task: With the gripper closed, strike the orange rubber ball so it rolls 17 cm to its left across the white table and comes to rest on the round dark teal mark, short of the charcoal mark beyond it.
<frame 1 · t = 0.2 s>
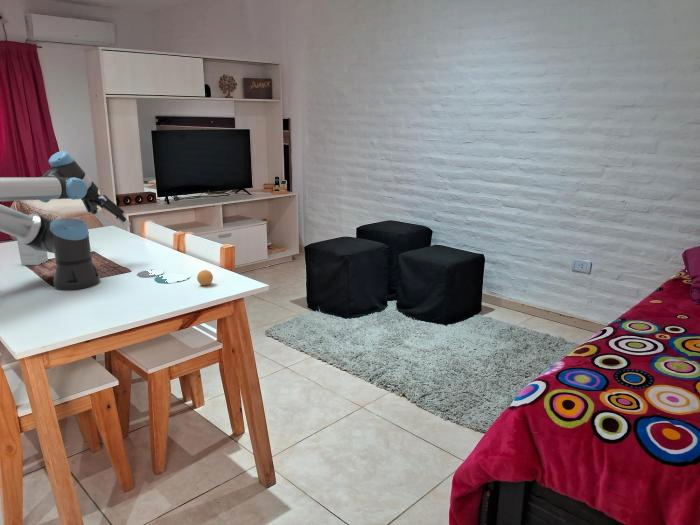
hand: (117, 224, 222), 15 cm above the table, tool tilted 35°, fingers open, 13 cm apart
supplement box: (35, 263, 224), on the table
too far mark: (150, 273, 208), on the table
ball: (205, 277, 193), on the table
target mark: (172, 278, 202), on the table
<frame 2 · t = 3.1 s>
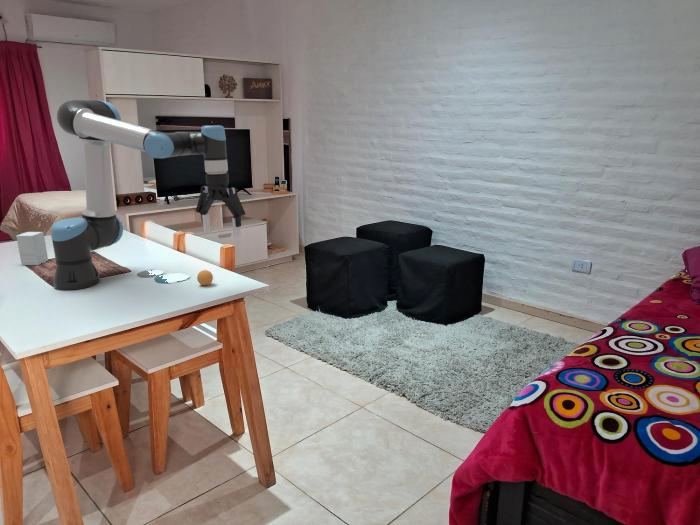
hand: (222, 234, 186), 19 cm above the table, tool pointing down, fingers open, 13 cm apart
nothing on the table moved.
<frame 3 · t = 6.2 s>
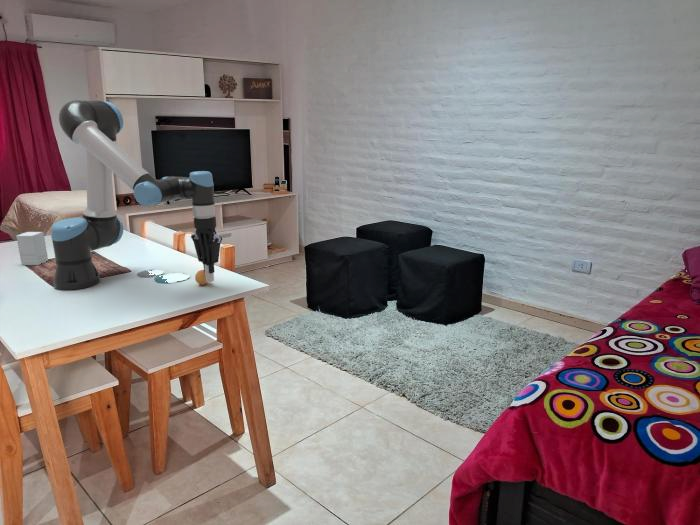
hand: (210, 281, 192), 2 cm above the table, tool pointing down, fingers closed
ball: (203, 277, 194), on the table, touching gripper
everything else where it was.
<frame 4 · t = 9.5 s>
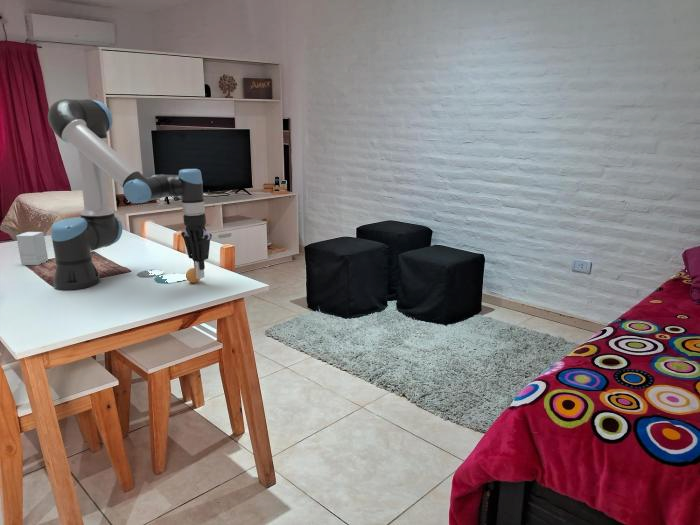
hand: (200, 277, 195), 2 cm above the table, tool pointing down, fingers closed
ball: (193, 275, 196), on the table, touching gripper
everything else where it was.
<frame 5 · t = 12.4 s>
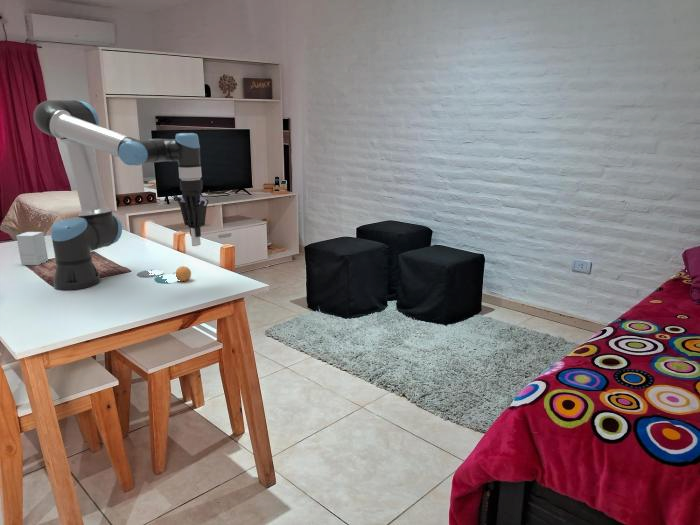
hand: (196, 245, 192), 14 cm above the table, tool pointing down, fingers closed
ball: (183, 273, 198), on the table
everything else where it was.
at the end: ball 6.3 cm from the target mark (horizontally); ball at rest at the end (0.0 cm/s); ball moved 10.7 cm from its start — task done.
